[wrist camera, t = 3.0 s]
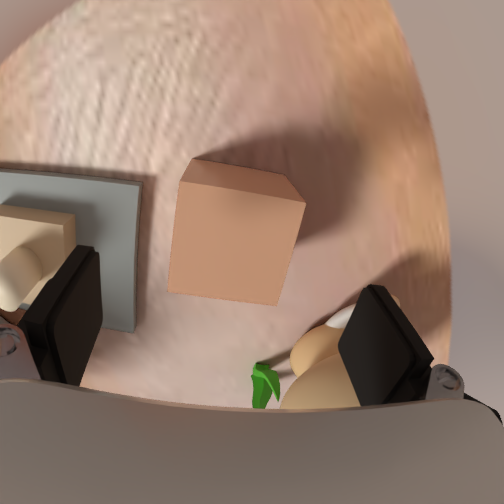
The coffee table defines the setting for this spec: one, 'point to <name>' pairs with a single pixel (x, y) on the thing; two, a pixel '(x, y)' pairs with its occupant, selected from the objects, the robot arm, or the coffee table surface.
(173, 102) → the coffee table surface
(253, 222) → the peach cardboard cube
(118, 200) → the post board
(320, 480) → the robot arm
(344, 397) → the kitten
